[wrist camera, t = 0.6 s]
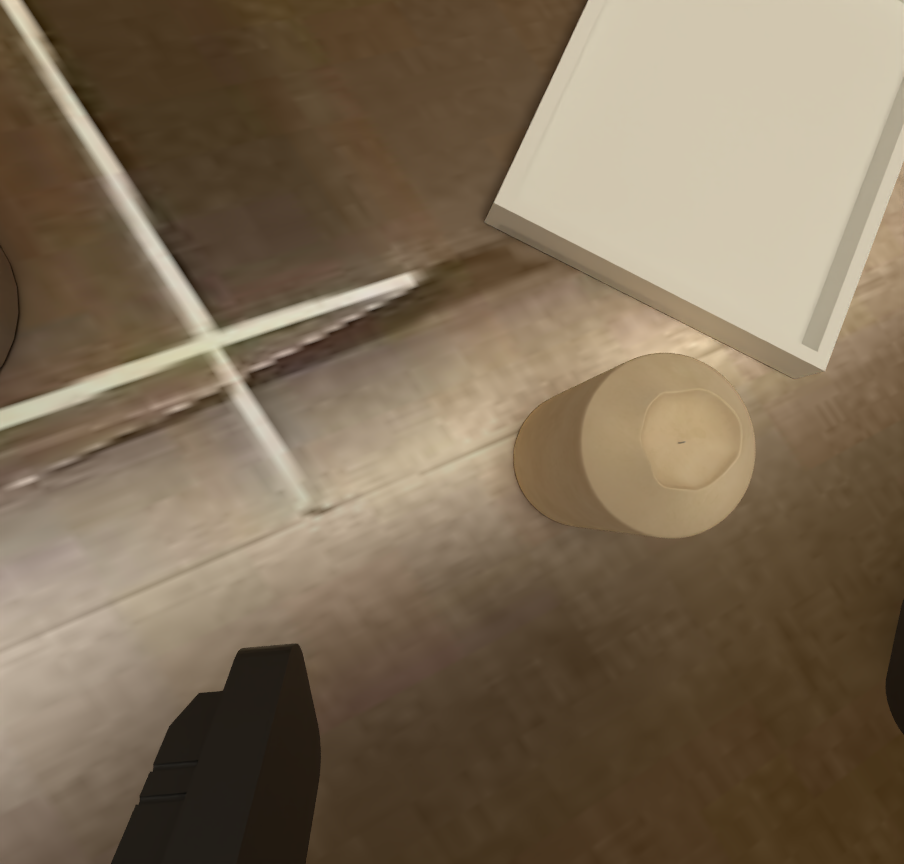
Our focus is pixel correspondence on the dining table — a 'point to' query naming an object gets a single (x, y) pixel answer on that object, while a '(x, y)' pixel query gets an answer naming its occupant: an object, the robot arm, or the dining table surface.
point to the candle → (639, 450)
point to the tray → (719, 162)
